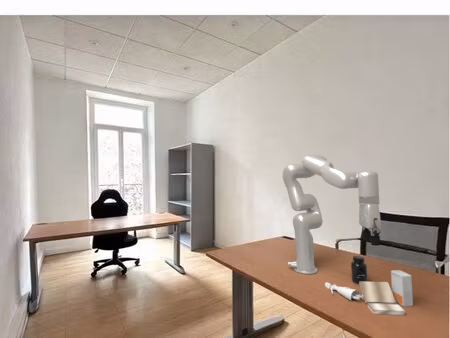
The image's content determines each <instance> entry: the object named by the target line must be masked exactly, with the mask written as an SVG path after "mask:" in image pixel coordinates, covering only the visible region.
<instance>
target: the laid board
mask: <svg viewBox="0 0 450 338" xmlns="http://www.w3.org/2000/svg"><path fill="white" fill-rule="evenodd" d="M367 308H368V309H369V310H370V311H371V312H372V314H374V315H394V316H395V315H396V316H397V315H398V316H406V310H405V309H404V308H402V306H400V304H399V303H395V304H386V303H367Z"/></svg>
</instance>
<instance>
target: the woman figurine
mask: <svg viewBox="0 0 450 338" xmlns="http://www.w3.org/2000/svg"><path fill="white" fill-rule="evenodd" d="M324 286H325V288H326V289H327V290H330V292H331V294H332V295H334V291H337V292H338V294H339V295H341V296H342V297H343V298H345V299H347V300H349V301H351V302H352V299H353V300H358V301H360V300H361V299H364V297H363V293H361V292H360V291H359V290H358V289H355V288H354V289H353V288H351V287H350V286H337V284H336V283H333V284H331V283H330V282H328V281H326V282H325V283H324Z"/></svg>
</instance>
